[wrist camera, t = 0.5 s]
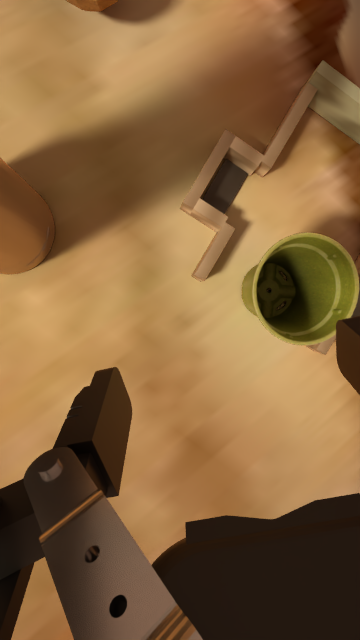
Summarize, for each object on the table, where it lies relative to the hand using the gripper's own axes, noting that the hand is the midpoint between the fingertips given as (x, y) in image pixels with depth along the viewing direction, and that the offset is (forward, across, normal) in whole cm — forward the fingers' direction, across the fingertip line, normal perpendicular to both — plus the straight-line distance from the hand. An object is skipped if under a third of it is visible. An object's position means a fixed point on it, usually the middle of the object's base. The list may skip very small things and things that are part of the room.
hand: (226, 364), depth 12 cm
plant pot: (+23, -7, +7) cm, 25 cm away
